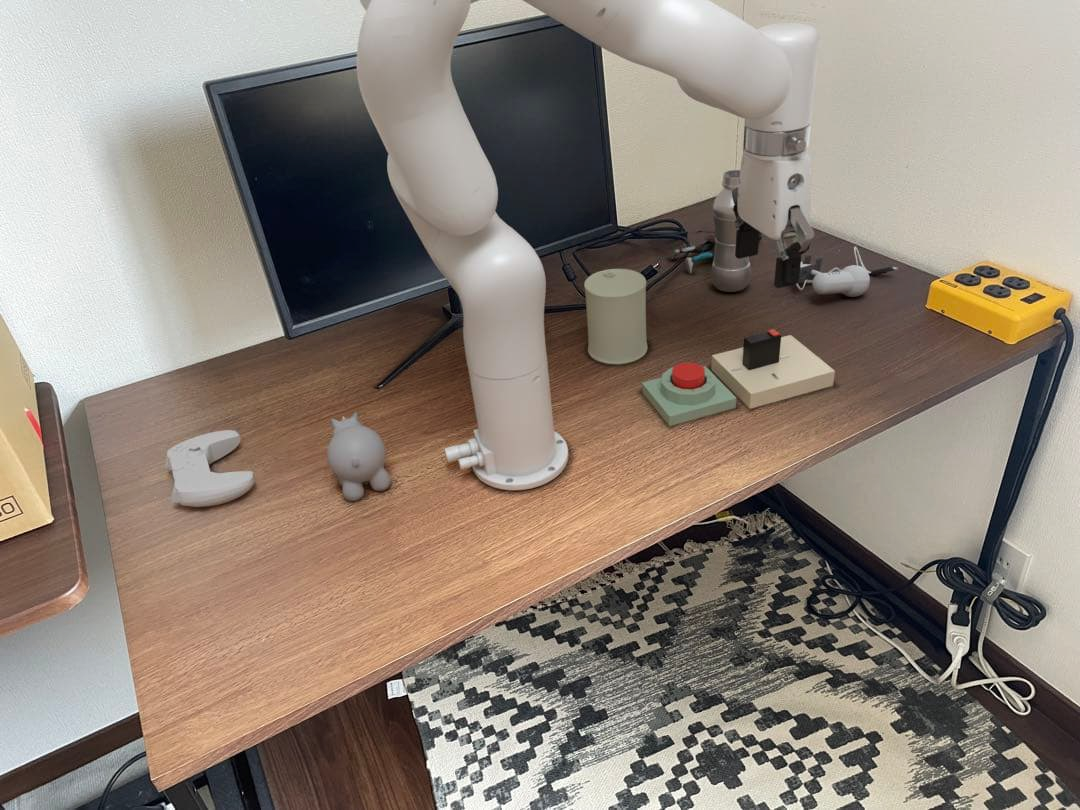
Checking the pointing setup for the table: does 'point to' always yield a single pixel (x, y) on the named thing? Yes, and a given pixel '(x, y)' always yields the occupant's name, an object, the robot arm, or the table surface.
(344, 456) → the chubby cartoon animal
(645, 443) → the table surface
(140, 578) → the table surface
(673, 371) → the power button
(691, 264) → the action figure
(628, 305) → the can
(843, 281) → the clip-on lamp
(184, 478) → the game controller
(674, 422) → the power switch
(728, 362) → the panel
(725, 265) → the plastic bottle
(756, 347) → the knob
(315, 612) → the table surface
